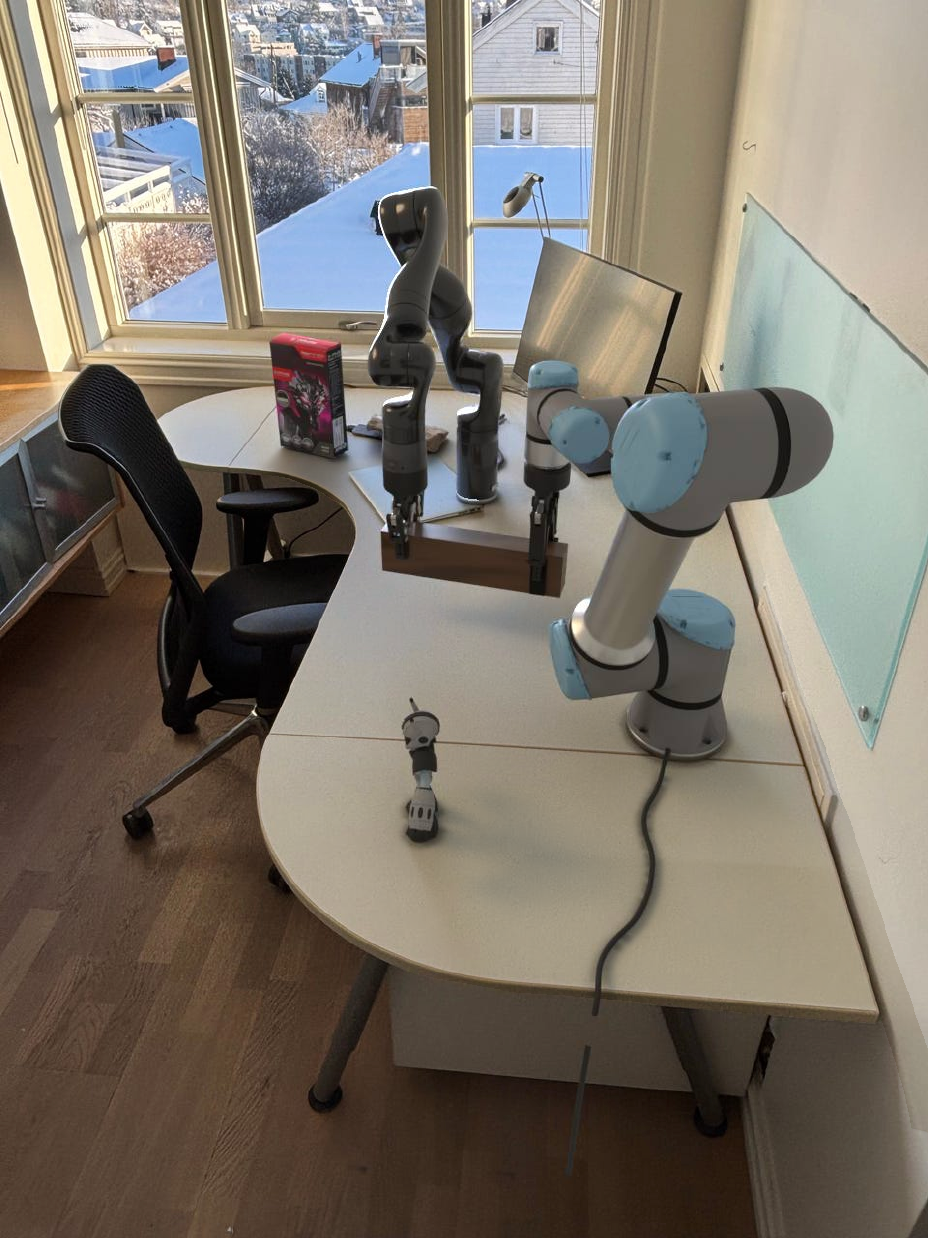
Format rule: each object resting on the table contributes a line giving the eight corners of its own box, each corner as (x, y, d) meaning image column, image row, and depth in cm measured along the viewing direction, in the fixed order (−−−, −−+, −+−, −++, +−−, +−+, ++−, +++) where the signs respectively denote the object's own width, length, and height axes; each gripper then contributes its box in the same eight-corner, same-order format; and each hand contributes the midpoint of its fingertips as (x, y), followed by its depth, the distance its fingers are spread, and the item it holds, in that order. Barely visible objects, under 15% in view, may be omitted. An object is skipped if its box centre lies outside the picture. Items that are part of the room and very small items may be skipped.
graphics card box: (278, 447, 232) (266, 338, 217) (294, 437, 237) (284, 331, 222) (334, 460, 225) (326, 350, 210) (350, 450, 230) (343, 341, 215)
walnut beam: (559, 598, 157) (563, 557, 152) (381, 570, 163) (380, 530, 159) (564, 583, 161) (568, 543, 156) (391, 557, 168) (389, 517, 163)
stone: (350, 435, 230) (355, 412, 228) (372, 427, 244) (376, 405, 241) (428, 460, 227) (434, 436, 224) (446, 450, 240) (451, 427, 238)
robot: (442, 875, 119) (441, 760, 108) (404, 877, 119) (400, 761, 107) (438, 770, 135) (437, 660, 124) (405, 771, 135) (401, 661, 124)
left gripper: (412, 482, 147) (415, 574, 156) (438, 447, 158) (439, 535, 168) (368, 476, 148) (373, 567, 158) (397, 442, 160) (400, 529, 169)
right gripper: (561, 487, 138) (551, 616, 151) (580, 441, 153) (570, 563, 166) (512, 481, 140) (507, 609, 153) (536, 436, 154) (529, 557, 167)
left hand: (407, 550), depth 163 cm, fingers closed on walnut beam, 5 cm apart
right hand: (540, 585), depth 159 cm, fingers closed on walnut beam, 5 cm apart
